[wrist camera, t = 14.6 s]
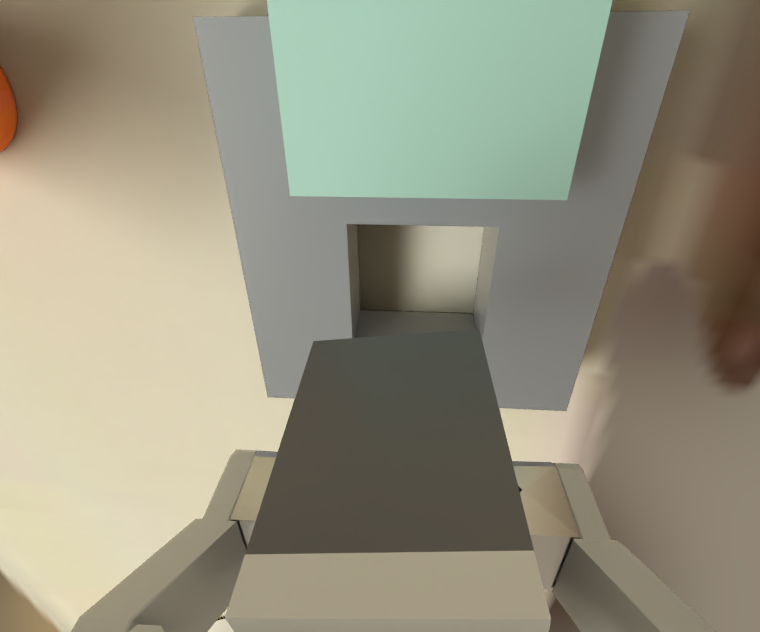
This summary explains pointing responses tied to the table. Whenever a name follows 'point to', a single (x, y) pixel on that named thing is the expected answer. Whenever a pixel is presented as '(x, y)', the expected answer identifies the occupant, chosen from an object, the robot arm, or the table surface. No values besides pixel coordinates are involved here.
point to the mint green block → (434, 95)
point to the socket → (436, 220)
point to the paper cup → (6, 112)
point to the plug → (392, 499)
